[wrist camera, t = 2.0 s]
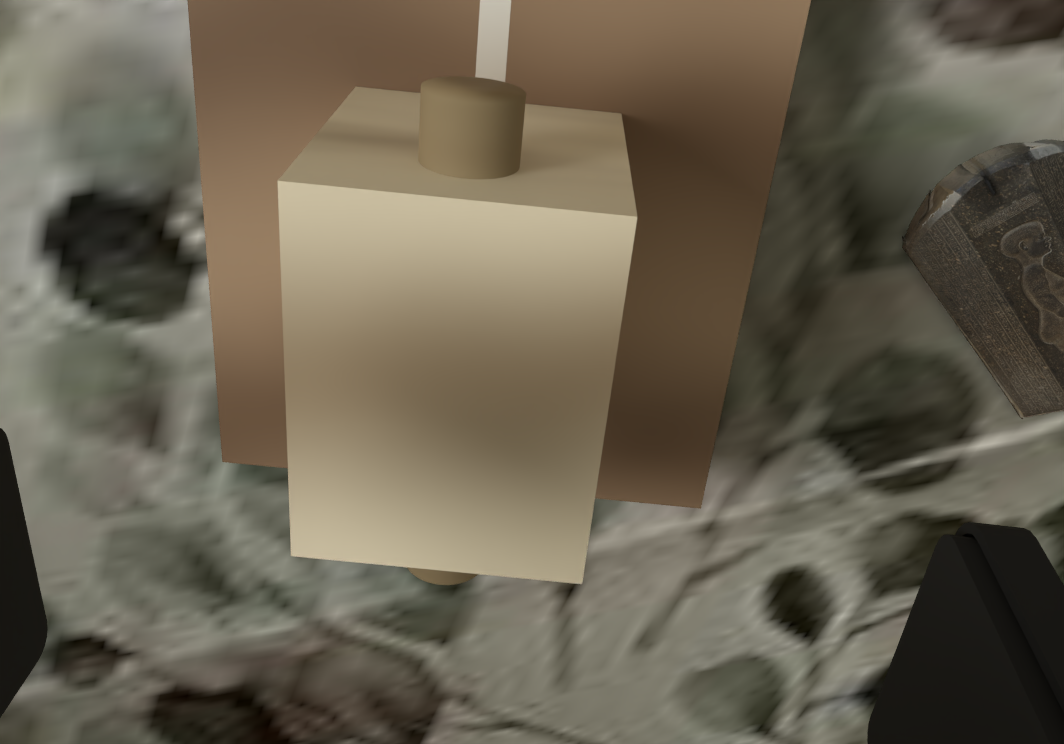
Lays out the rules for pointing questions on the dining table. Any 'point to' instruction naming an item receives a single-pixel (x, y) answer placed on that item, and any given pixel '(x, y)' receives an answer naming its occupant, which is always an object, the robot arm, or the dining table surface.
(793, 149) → the dining table surface
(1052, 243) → the block
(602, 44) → the board
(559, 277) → the cream knobbed box
